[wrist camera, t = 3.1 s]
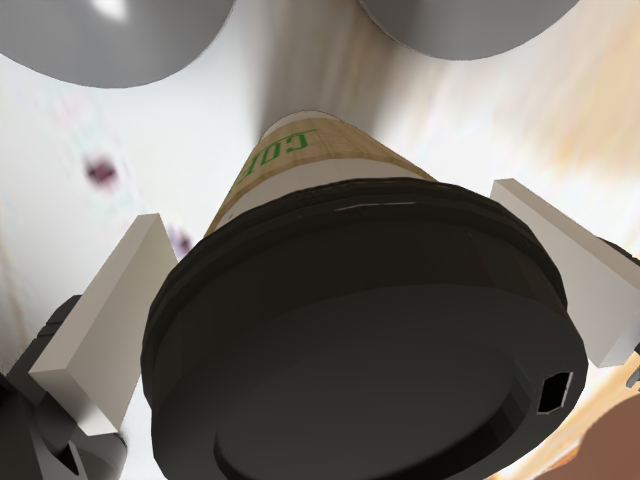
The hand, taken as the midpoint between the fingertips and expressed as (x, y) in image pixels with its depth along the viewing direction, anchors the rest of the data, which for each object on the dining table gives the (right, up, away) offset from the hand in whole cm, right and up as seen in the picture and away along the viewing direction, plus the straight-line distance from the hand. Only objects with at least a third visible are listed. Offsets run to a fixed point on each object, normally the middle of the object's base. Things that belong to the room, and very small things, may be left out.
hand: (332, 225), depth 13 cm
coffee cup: (-1, +4, +6) cm, 7 cm away
